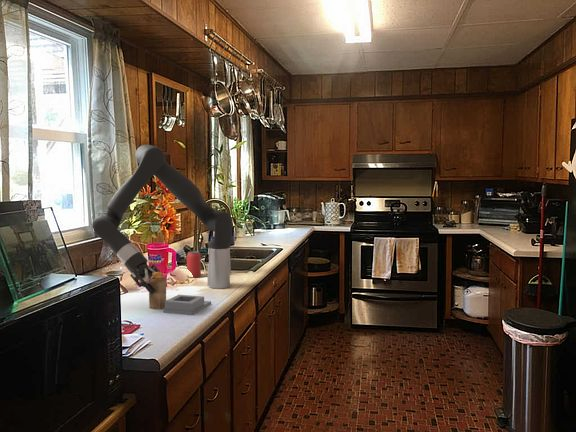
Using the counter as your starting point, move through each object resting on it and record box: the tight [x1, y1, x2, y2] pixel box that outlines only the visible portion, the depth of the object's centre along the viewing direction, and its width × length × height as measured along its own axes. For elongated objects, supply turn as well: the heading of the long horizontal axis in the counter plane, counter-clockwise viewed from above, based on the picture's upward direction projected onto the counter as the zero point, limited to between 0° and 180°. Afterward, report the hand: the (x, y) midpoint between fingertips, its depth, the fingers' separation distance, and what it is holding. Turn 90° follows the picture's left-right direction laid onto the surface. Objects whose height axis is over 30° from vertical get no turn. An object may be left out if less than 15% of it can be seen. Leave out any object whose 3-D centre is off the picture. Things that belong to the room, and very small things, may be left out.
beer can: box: [186, 250, 202, 279], centre depth 246 cm, size 7×7×12 cm
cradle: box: [162, 294, 212, 316], centre depth 190 cm, size 12×16×4 cm
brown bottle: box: [148, 271, 167, 310], centre depth 191 cm, size 4×4×13 cm
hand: (159, 290), depth 191 cm, fingers open, 8 cm apart
